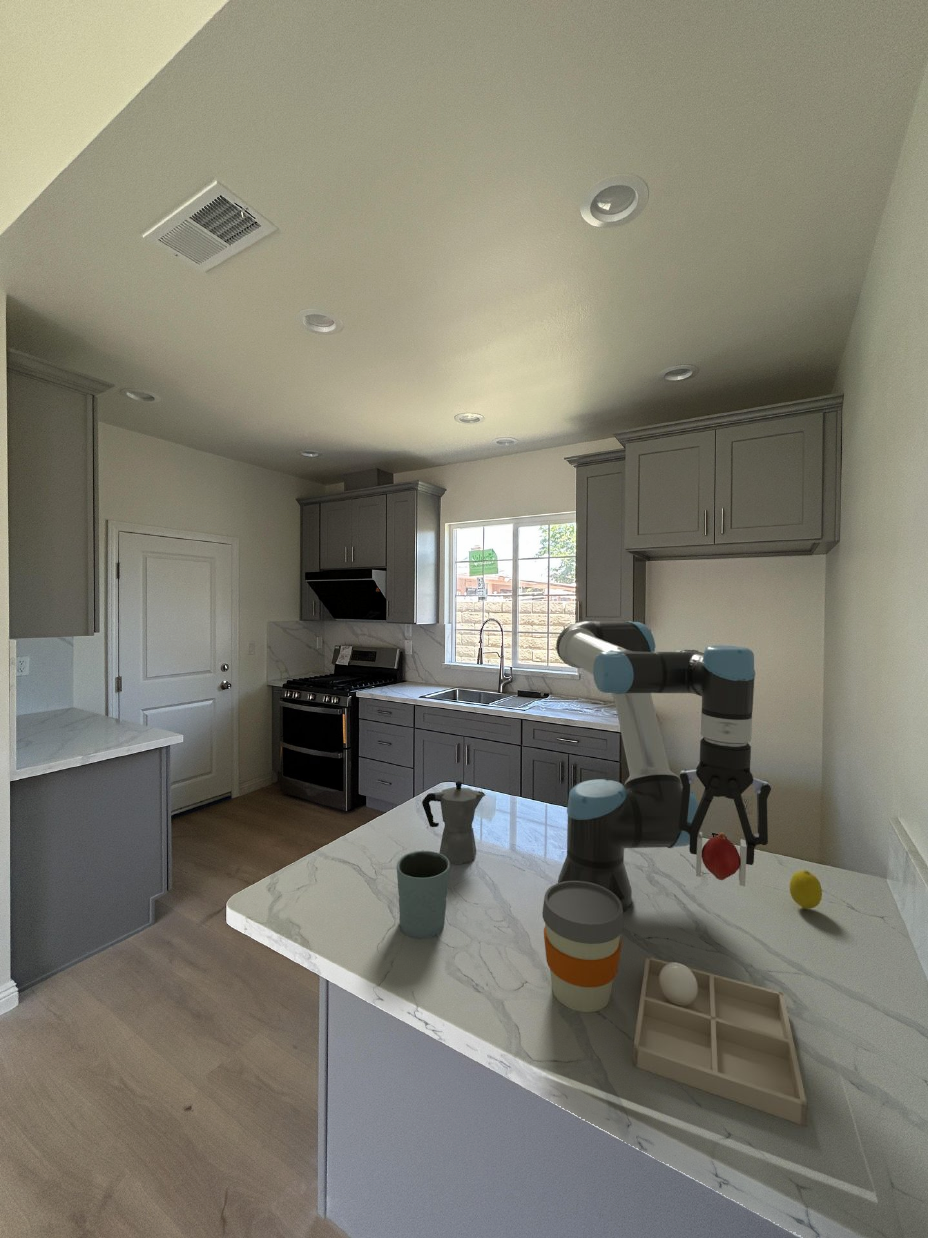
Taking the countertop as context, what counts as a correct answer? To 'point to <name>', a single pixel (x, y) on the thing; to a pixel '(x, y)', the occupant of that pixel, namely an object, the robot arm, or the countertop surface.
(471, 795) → the coffeepot
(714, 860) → the onion
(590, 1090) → the countertop surface
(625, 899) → the robot arm
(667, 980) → the ceramic egg
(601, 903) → the reusable coffee cup
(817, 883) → the lemon
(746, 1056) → the wooden tray
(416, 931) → the green cup
